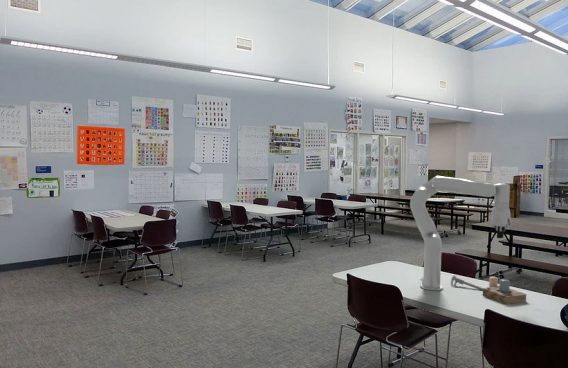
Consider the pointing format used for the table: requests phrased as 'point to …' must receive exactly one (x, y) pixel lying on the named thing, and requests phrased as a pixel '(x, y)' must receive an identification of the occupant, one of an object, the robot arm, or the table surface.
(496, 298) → the jig
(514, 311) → the table surface
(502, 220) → the robot arm
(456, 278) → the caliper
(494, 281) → the terracotta sleeve
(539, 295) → the table surface
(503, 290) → the sleeve
